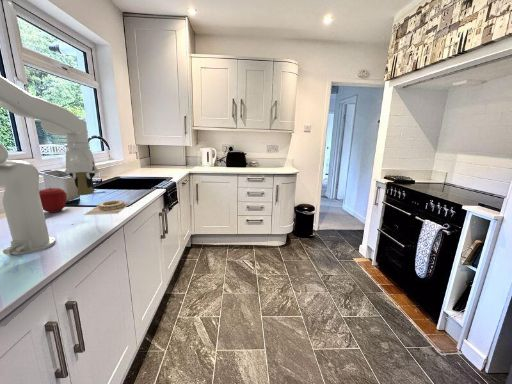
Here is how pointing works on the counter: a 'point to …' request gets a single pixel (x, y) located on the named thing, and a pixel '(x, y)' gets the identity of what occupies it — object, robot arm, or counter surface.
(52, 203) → the apple
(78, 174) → the cork
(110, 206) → the beech ring
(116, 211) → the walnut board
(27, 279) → the counter surface
